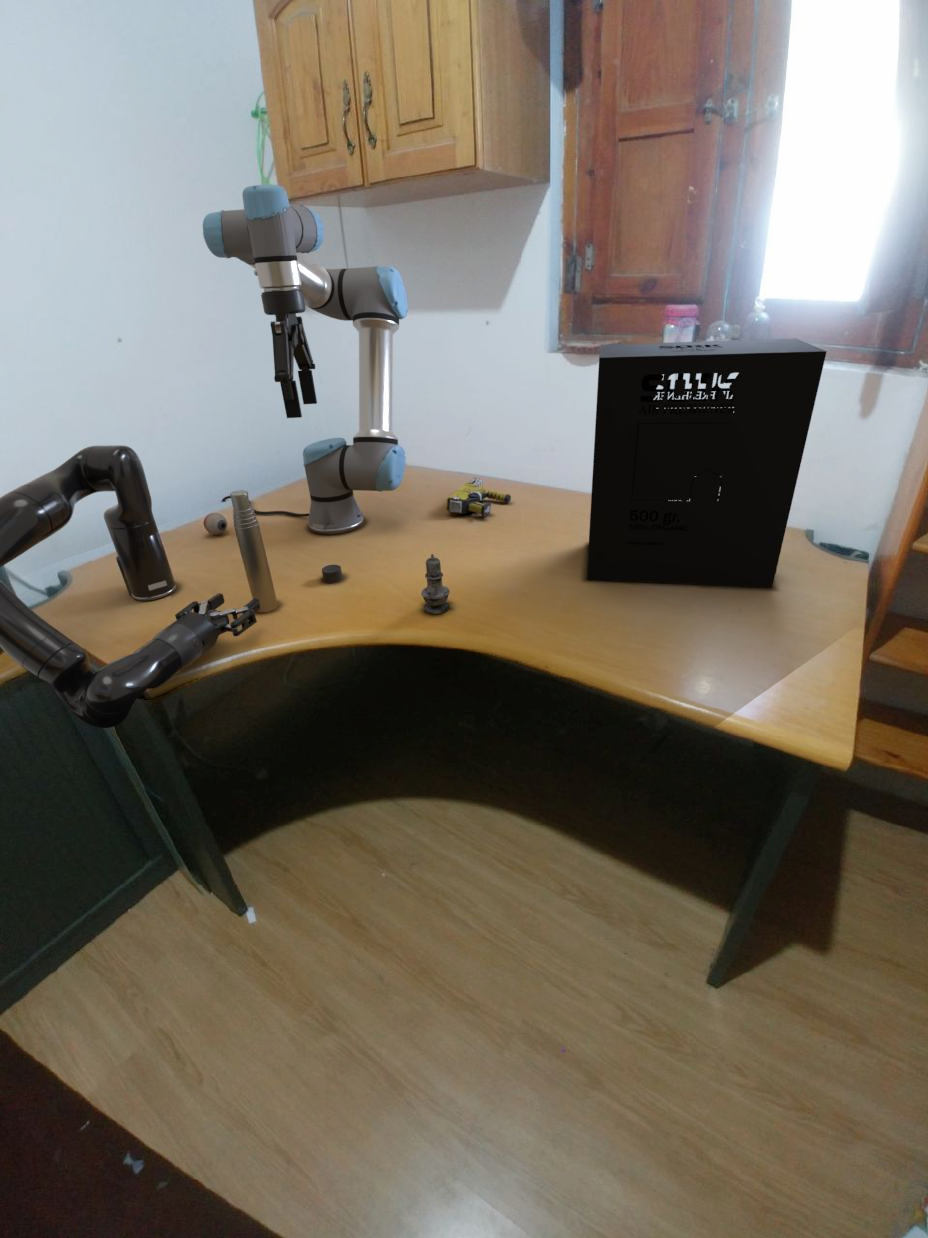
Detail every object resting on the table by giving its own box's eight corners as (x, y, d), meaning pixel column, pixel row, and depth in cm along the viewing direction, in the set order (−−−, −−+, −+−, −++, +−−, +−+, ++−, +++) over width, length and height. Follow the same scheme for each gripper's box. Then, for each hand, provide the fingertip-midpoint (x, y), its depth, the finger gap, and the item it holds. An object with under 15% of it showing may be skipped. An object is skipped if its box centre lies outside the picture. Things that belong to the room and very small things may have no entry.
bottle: (270, 613, 126) (242, 496, 114) (251, 612, 127) (220, 496, 115) (282, 603, 130) (255, 489, 118) (262, 601, 131) (234, 488, 119)
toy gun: (519, 482, 184) (472, 475, 188) (496, 505, 164) (445, 497, 168) (517, 497, 186) (471, 490, 190) (495, 522, 166) (444, 513, 170)
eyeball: (217, 539, 164) (211, 518, 161) (202, 535, 167) (196, 515, 164) (234, 532, 168) (229, 511, 166) (220, 528, 172) (214, 508, 169)
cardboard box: (752, 548, 142) (795, 338, 119) (772, 587, 124) (826, 351, 102) (589, 543, 149) (600, 344, 127) (586, 579, 132) (599, 357, 110)
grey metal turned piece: (447, 614, 122) (443, 560, 116) (419, 613, 123) (413, 559, 117) (453, 601, 127) (450, 548, 121) (426, 599, 128) (421, 547, 122)
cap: (345, 575, 141) (344, 565, 139) (337, 583, 137) (335, 573, 136) (329, 574, 142) (327, 563, 140) (320, 582, 138) (318, 571, 137)
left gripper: (157, 654, 111) (215, 611, 124) (221, 666, 107) (274, 620, 120) (145, 619, 107) (206, 579, 120) (210, 629, 103) (266, 587, 116)
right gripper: (279, 288, 121) (299, 399, 131) (238, 292, 99) (266, 424, 110) (316, 286, 121) (333, 397, 131) (283, 290, 99) (307, 422, 110)
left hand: (240, 599), depth 120 cm, fingers open, 8 cm apart
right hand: (302, 410), depth 121 cm, fingers open, 13 cm apart
